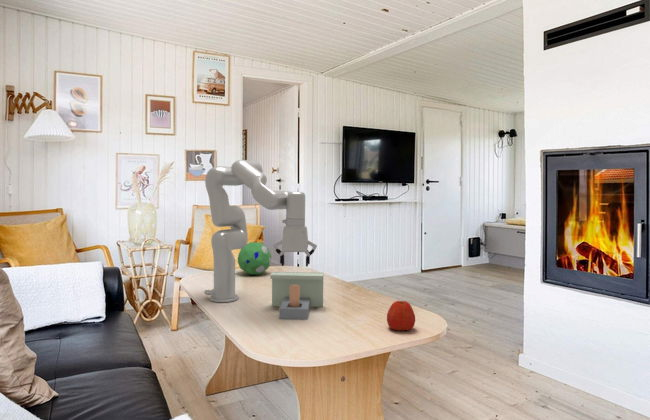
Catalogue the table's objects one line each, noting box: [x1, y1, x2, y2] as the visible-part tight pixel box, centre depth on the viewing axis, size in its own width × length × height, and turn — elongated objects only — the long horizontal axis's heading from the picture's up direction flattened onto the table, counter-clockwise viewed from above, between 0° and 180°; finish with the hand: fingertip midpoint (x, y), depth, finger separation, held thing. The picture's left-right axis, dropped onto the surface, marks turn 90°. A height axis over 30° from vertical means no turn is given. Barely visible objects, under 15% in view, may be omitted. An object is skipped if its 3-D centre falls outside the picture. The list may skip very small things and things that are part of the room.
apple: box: [386, 300, 416, 332], centre depth 159 cm, size 10×10×10 cm
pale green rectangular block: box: [269, 271, 324, 308], centre depth 186 cm, size 22×7×14 cm, turn 89°
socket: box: [278, 297, 311, 320], centre depth 178 cm, size 11×18×4 cm, turn 179°
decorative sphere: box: [237, 241, 272, 276], centre depth 255 cm, size 19×20×20 cm
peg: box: [290, 284, 300, 307], centre depth 175 cm, size 4×4×12 cm
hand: (294, 265), depth 174 cm, fingers open, 9 cm apart
